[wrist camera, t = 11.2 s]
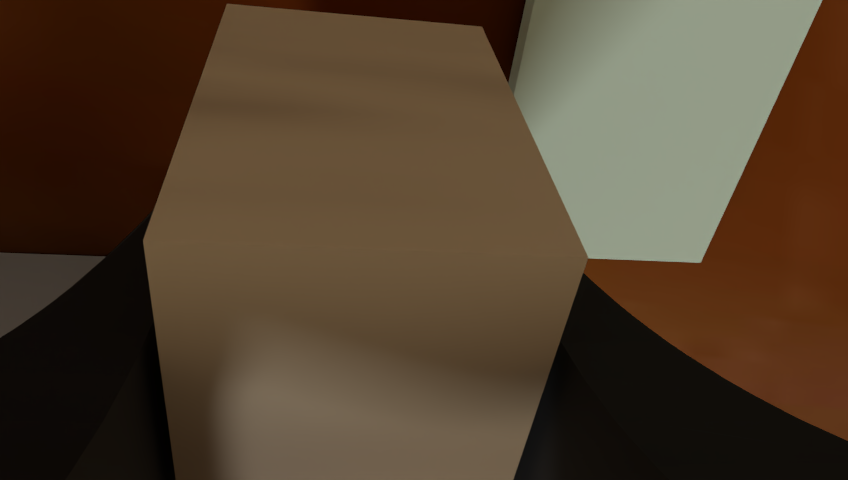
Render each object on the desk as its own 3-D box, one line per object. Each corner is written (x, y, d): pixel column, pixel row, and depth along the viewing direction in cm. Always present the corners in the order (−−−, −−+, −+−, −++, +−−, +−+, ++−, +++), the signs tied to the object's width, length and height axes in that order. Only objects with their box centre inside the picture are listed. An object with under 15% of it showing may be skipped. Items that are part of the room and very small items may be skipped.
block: (426, 336, 16) (467, 616, 11) (239, 333, 15) (196, 628, 10) (482, 26, 11) (588, 256, 7) (226, 3, 11) (142, 240, 6)
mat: (691, 248, 19) (700, 262, 19) (474, 239, 18) (478, 253, 18) (854, -116, 14) (872, -110, 13) (559, -156, 13) (567, -150, 12)
